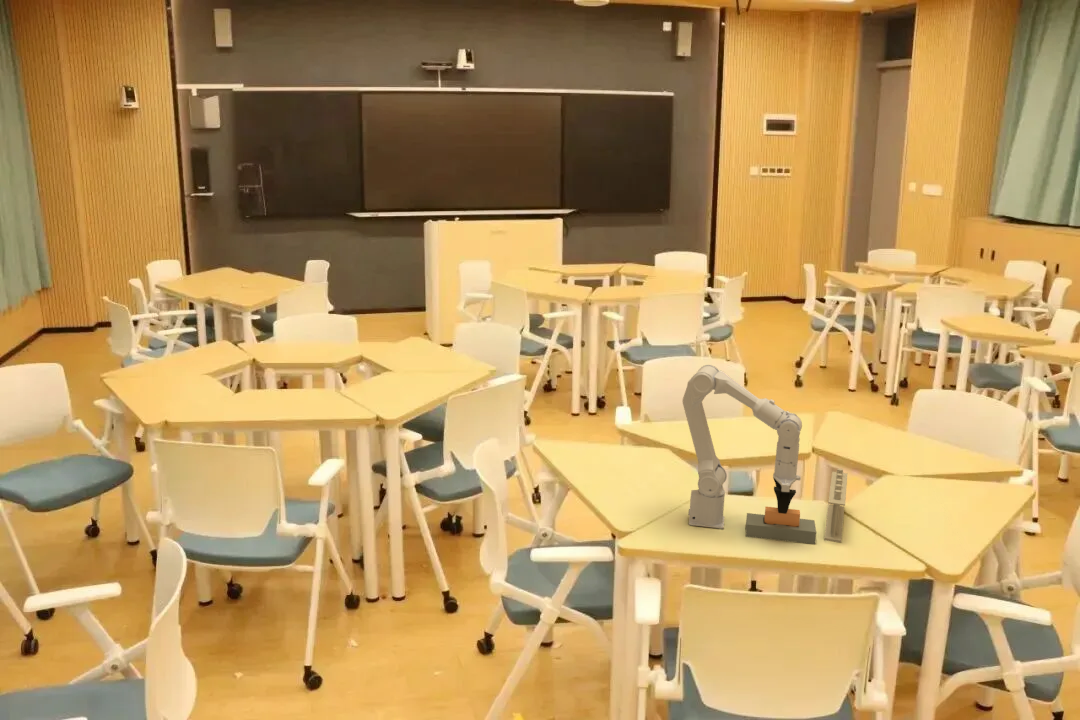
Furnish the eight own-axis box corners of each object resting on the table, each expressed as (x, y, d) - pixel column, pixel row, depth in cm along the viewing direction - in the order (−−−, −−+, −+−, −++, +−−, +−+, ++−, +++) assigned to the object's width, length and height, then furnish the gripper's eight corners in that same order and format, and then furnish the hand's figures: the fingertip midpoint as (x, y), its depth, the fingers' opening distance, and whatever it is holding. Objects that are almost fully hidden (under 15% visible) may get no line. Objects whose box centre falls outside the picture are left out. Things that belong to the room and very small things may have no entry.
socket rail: (745, 536, 246) (746, 524, 245) (745, 524, 253) (746, 512, 253) (815, 544, 242) (816, 532, 241) (813, 532, 250) (814, 520, 249)
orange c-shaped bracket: (763, 532, 247) (765, 510, 246) (763, 528, 250) (765, 506, 248) (797, 536, 245) (800, 514, 244) (797, 532, 248) (799, 510, 247)
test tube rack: (841, 543, 244) (846, 496, 240) (824, 540, 245) (828, 494, 242) (844, 508, 266) (848, 466, 263) (828, 506, 268) (832, 464, 265)
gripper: (803, 470, 235) (798, 519, 238) (800, 452, 249) (796, 498, 252) (775, 467, 236) (770, 516, 240) (774, 449, 250) (769, 496, 253)
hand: (781, 507), depth 246 cm, fingers open, 7 cm apart
